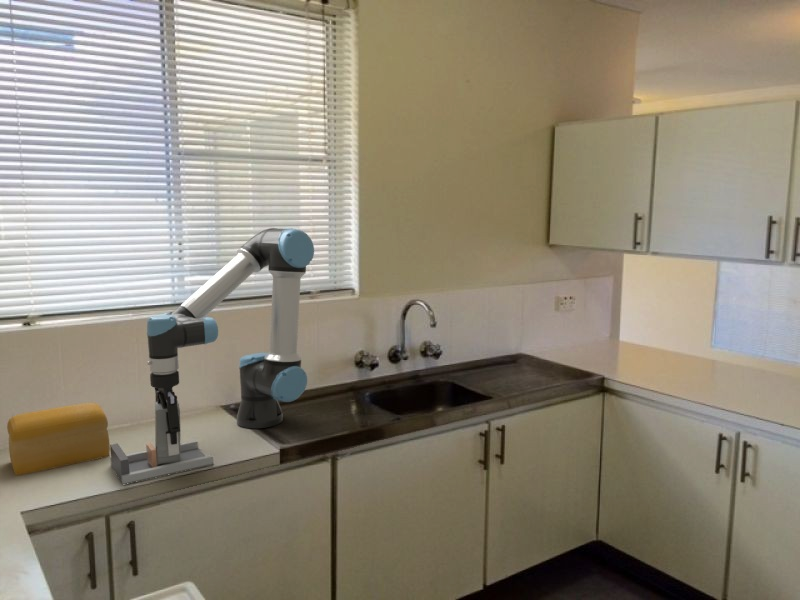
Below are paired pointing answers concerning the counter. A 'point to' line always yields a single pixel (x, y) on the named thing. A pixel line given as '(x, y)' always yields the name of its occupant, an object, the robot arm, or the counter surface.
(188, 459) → the lane
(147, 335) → the robot arm
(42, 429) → the bread
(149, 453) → the block
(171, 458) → the skincare box
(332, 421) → the counter surface
